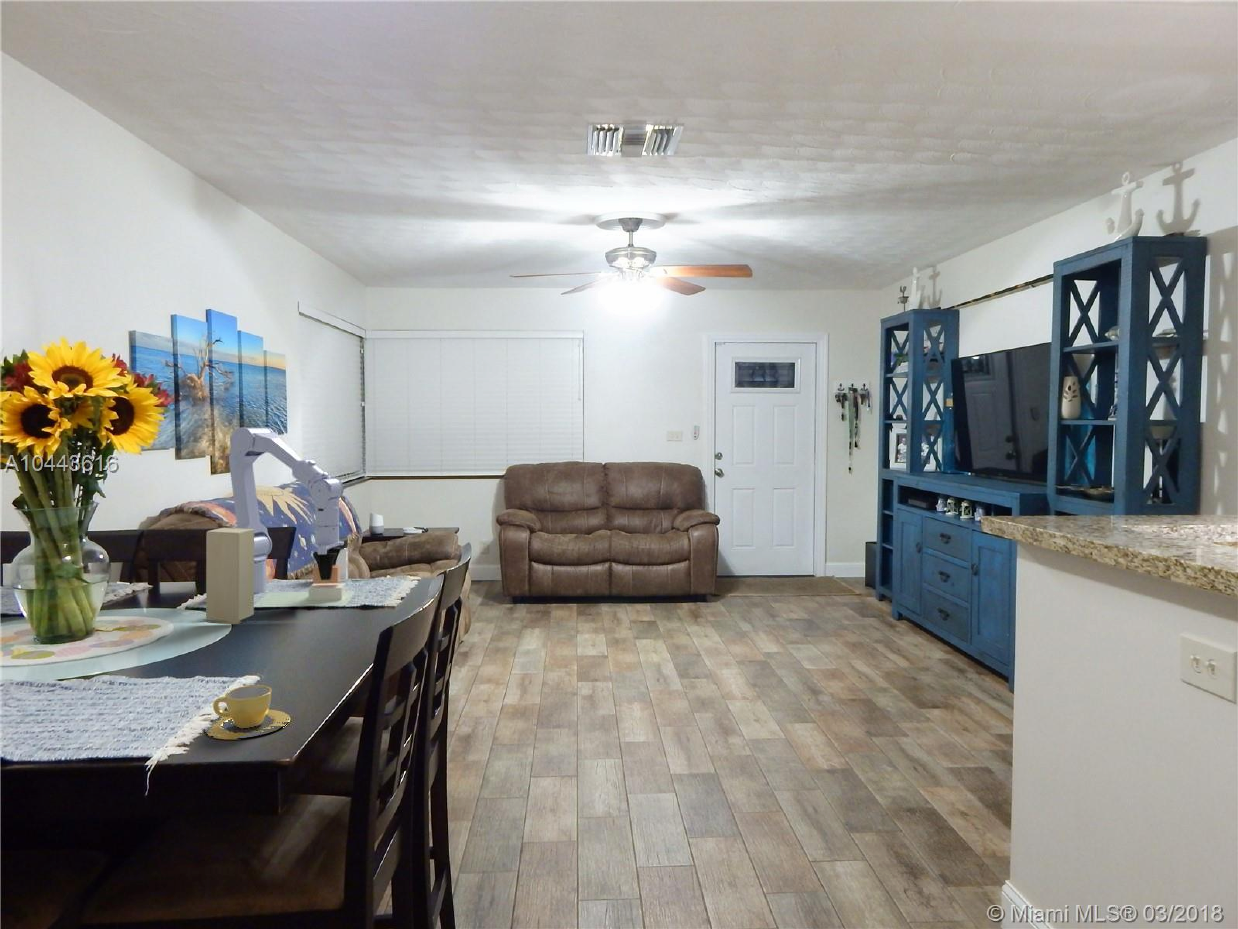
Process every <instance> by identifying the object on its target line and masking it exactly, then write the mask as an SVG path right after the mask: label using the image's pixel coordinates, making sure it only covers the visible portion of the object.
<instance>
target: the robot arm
mask: <svg viewBox="0 0 1238 929" xmlns="http://www.w3.org/2000/svg"><path fill="white" fill-rule="evenodd" d="M229 444H230V451H229V456H228V464H229V470H230V478H231V479H230V481H231V485H232V486H231V488H232V495H233V501H234V502H233V504H234V510H235V519H236V526H235V528H239V529H254V594H258V593H264V592H265V591H267V573H266V572H267V560H266V559H268V555H269V554H270V553H271V551H272V548H273V542H272V539H271V537H270V535H269V532H268V528H267V527H266V526H265V525H264V524H262V523H261V519H260V513H259V505H258V504H259V503H258V498H257V490H256V480H255V474H254V463H255V462H256V461H257V460H258V458H260V456H263V455H264V454H266V453H268V454H270V455H272V456H273V457H275V458H276V459H277V460H278V461H280V462H281V463H283V464H284V465H285V466H286V467H288V468H289V469H291V473H292V477H293V478H295V479H296V480H297V481H298V482H299V483H301V485H303V486H304V487H305V488H306V489H307V490H309V493H310V497H311V498H312V500H313V506H314V510H315V514H314V517H315V518H314V519H315V520H314V521H315V524H314V525H315V527H314V528H315V532H314V536H315V537H314V538H315V539H314V540H315V541H314V547H315V548H317V550H318V552H317V551H314V552H312V556H313V558H314V560H315V561H316V565H318V568H319V573H320V577H321V580H330V578H331V573H332V566H333V565H336V561H337V557H338V555H339V553H340V551H341V548H340V547H336V546H339V545H343V544H344V542H340V541H339V537H340V498H342V496H343V494H344V491H345V490H344V488H345V487H344V485H343V482H342V481H341V480H340V479H339V478H338V477H336V476H334V477H333V476H329V473H327V472H326V471H325V472H324V471H323V470H322V469H321V468H320V467H318V466H317V465H316V462H315V461H314V460H310V459H301V458H300V456H299V455H297V454H296V453H295V452H294V451H293V450H292V449H291V448H290V447H289V446H288V445H287V444H286V443H285V442H284V441H283V440H281V438H280V435H279V433H276V432H274V431H273V429H271V428H270V427H266V426H263V427H244V426H243V427H238V428H237V429H236V430H235V431H234V432H233V433H232V434H231V435H230V437H229Z"/></svg>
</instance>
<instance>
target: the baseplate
mask: <svg viewBox="0 0 1238 929" xmlns="http://www.w3.org/2000/svg"><path fill="white" fill-rule="evenodd" d="M355 593H356V590H345V596H344V597H343V599H342V600H309V591H287V592H285V591H284V592H282V591H281V592H279V591H277V592H267V593H266V594H264V596H262V597H261V598H260V599H259V600H258V601H257V602H256V603H254V608H274V607H275V608H278V607H279V608H281V607H316V606H317V607H318V606H319V607H322V606H347V605H348V604H349V602H350V600H351V599H352V597H353V596H354V595H355Z"/></svg>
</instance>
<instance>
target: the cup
mask: <svg viewBox="0 0 1238 929" xmlns="http://www.w3.org/2000/svg"><path fill="white" fill-rule="evenodd" d="M272 692H273V689H272V687H271V686H267V685H262V684H260V685H259V684H253V685H243V686H239V687H236V688H233V689H231V690H228V691H227V692H226V693H225V695H224V696H221V697H218V698H216V699H215V700H214V701H213V704H212V706H213V707H212V709H213V711H214V712H215V714H216V715H217V716H219V717H222V718H220V719H221V720H219V721H216V722H218V723H216V724H214V725H212V726H213V727H212V728H210V730H209V731H208V732H211V733H207V734H208V735H207V734H206V735H207V736H208V737H211V736H214V737H213V738H214V739H219V740H238V739H237V737H236V736H243V734H244V733H243V732H237V733H233V731H231V732H229V731H230V730H229V731H225V730H223V729H224V728H222V727H221V726H223V722H228V720H230V719H232V721H233V723H234V726H235V727H237V728H238V727H239V729H243V728H248V727H253V726H256V727H258V726H259V725H261V724H262V723H263V722H264V720H265V719H264V718H265V716H266V715H268V716H269V717H270V718H271V719H274V721H273V722H274V723H273V724H271V725H269V727H266V726H265V727H266V728H264V727H262V728H263V729H271V727H270V726H285V725H286V724H285V725H284V724H282V722H283V723H284V722H289V723H290V722H291V716H290V715H289V714H288V713H286V712H284V711H281V710H278V709H277V710H276V709H270V706H271V701H272V700H271V699H272V694H273V693H272ZM219 703H225V704H226V708H227V711H226V710H222V709H221V707H220V704H219ZM223 719H224V720H223ZM286 719H287V720H286ZM288 719H289V720H288ZM277 722H278V723H277ZM279 722H280V723H279ZM286 726H287V725H286ZM286 726H285V727H286ZM253 728H254V727H253ZM272 728H274V727H272ZM211 729H212V730H211ZM248 729H249V728H248ZM260 731H261V730H260ZM213 732H214V733H213ZM251 732H257V731H256V730H252V731H251ZM258 732H259V731H258ZM261 732H264V731H263V730H262V731H261ZM241 733H243V734H241ZM216 736H217V737H216ZM244 736H247V735H246V733H245V734H244ZM248 736H249V735H248ZM238 738H239V737H238Z"/></svg>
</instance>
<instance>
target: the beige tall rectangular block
mask: <svg viewBox="0 0 1238 929" xmlns="http://www.w3.org/2000/svg"><path fill="white" fill-rule="evenodd" d="M205 536H206V538H205V539H206V544H205V545H206V546H205V547H206V548H205V549H206V550H205V551H206V552H205V554H206V556H205V559H206V568H205V569H206V570H205V572H206V573H205V574H206V575H205V576H206V577H205V578H206V580H205V583H206V585H205V586H206V587H205V588H206V590H205V595H206V597H205V599H206V600H205V601H206V602H205V610H206V612H205V615H206V616H205V620H206V623H208V624H211V623H212V624H224V625H225V624H229V625H239V624H242V623H244V622H246V621H247V620H246V619H247V618H249V617H251V616H253V615H254V614H255V612H254V611H255V607H254V605H255V593H254V529H239V528H236V527H220V528H215V529H210V530H207V531H206V535H205Z"/></svg>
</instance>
